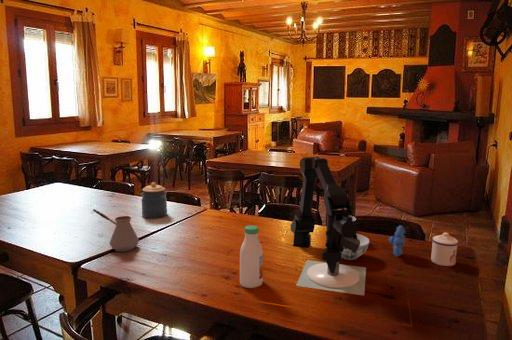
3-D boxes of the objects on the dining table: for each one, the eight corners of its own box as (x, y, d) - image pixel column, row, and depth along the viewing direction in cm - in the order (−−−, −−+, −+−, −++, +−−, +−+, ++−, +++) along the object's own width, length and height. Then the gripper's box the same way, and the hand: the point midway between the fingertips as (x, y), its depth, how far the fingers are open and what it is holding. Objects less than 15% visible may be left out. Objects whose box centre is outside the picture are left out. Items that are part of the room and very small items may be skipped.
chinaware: (373, 255, 163) (374, 237, 162) (360, 268, 151) (362, 249, 149) (337, 247, 171) (338, 230, 170) (323, 259, 159) (324, 240, 157)
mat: (295, 287, 136) (295, 285, 136) (306, 261, 157) (306, 260, 157) (364, 297, 130) (364, 295, 130) (366, 269, 151) (366, 267, 151)
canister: (164, 219, 207) (163, 185, 204) (138, 218, 207) (137, 184, 204) (169, 211, 220) (168, 179, 217) (145, 211, 220) (144, 179, 217)
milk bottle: (254, 291, 133) (255, 232, 129) (235, 285, 137) (235, 228, 133) (266, 282, 140) (267, 226, 136) (247, 276, 144) (248, 222, 140)
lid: (303, 283, 137) (303, 269, 136) (311, 262, 154) (311, 250, 153) (358, 291, 132) (359, 277, 131) (360, 269, 149) (361, 256, 148)
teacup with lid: (454, 268, 152) (458, 238, 150) (428, 263, 156) (431, 234, 154) (457, 257, 162) (460, 229, 160) (433, 253, 166) (435, 225, 164)
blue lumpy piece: (389, 248, 171) (391, 220, 169) (406, 251, 168) (408, 223, 166) (384, 257, 161) (386, 228, 159) (402, 261, 158) (404, 231, 156)
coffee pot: (144, 245, 172) (143, 211, 169) (127, 255, 161) (125, 218, 158) (104, 238, 179) (102, 205, 176) (84, 247, 169) (82, 212, 166)
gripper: (358, 239, 129) (355, 285, 132) (360, 222, 146) (358, 263, 149) (322, 236, 132) (320, 281, 135) (329, 219, 150) (327, 259, 153)
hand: (333, 270), depth 143 cm, fingers closed on lid, 4 cm apart
